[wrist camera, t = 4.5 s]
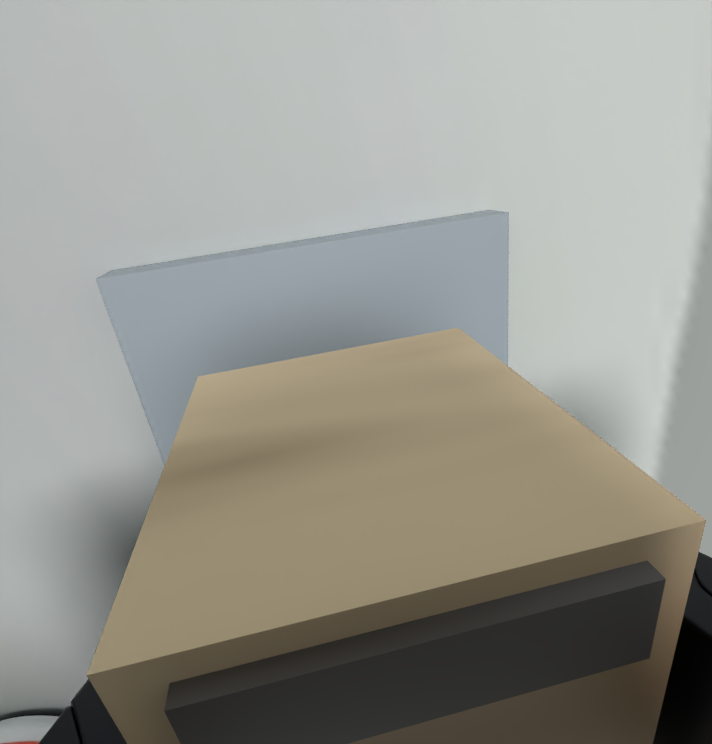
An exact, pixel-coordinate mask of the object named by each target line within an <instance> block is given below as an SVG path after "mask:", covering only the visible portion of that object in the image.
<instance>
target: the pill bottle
mask: <svg viewBox="0 0 712 744" xmlns="http://www.w3.org/2000/svg"><path fill="white" fill-rule="evenodd" d="M58 717H59V716H44V715H38V716H22V717H15V718H10V719H5V720H2V721H0V744H38V743H39V742H40V740H41V739H42V738H43V737H44V735H45V734H46V733H47V732H48V730H49V729H50V728H51V726H52V725H53V724H54V723H55V721H56V720H57V719H58Z"/></svg>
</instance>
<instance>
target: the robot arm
mask: <svg viewBox="0 0 712 744" xmlns="http://www.w3.org/2000/svg"><path fill="white" fill-rule="evenodd" d="M71 706H72V707H71ZM71 706H68V707H66V708H65V710H64V711H63V712H62V714H61V715H60V716H59V717H58V719H57V720H56V721H55V723H54V724H53V725H52V726H51V728H50V729H49V730H48V732H47V733H46V734H45V735H44V737H43V738H42V739H41V740H40V742H39V743H38V744H127V743H126V741H125V739H124V737H123V736H122V734H121V732H120V731H119V729H118V727H117V726H116V724H115V722H114V721H113V719H112V717H111V716H110V714H109V712H108V711H107V709H106V707H105V705H104V704H103V702H102V700H101V699H100V697H99V695H98V694H97V692H96V690H95V689H94V687H93V685H92V684H91V682H90V680H89V679H88V680H87V681H86V683H85V684H84V685H83V687H82V688H81V689H80V691H79V692H78V693H77V694H76V696H75V697H74V698H73V700H72V701H71ZM653 744H712V558H711V557H709V556H707V555H705V554H702V553H700V552H698V557H697V561H696V565H695V569H694V573H693V577H692V582H691V586H690V590H689V594H688V598H687V603H686V607H685V611H684V615H683V619H682V624H681V628H680V632H679V636H678V640H677V644H676V649H675V653H674V657H673V661H672V665H671V670H670V674H669V678H668V682H667V686H666V690H665V695H664V699H663V703H662V707H661V711H660V716H659V720H658V724H657V728H656V732H655V737H654V741H653Z"/></svg>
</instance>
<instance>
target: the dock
mask: <svg viewBox="0 0 712 744" xmlns="http://www.w3.org/2000/svg"><path fill="white" fill-rule="evenodd" d="M508 234H509V212H501V211H493V210H487V211H481V212H474V213H468V214H462V215H456V216H449V217H443V218H437V219H431V220H424V221H418V222H412V223H406V224H399V225H393V226H387V227H381V228H375V229H368V230H362V231H356V232H350V233H343V234H337V235H331V236H325V237H318V238H312V239H306V240H300V241H293V242H287V243H281V244H275V245H268V246H262V247H256V248H250V249H243V250H237V251H231V252H225V253H219V254H212V255H206V256H200V257H194V258H187V259H181V260H175V261H169V262H162V263H156V264H150V265H144V266H137V267H131V268H125V269H119V270H112V271H110V272H108V273H106V274H104V275H102V276H101V277H99V278H97V279H96V282H97V284H98V287H99V290H100V293H101V295H102V298H103V301H104V303H105V306H106V309H107V311H108V314H109V317H110V319H111V322H112V325H113V328H114V330H115V333H116V336H117V338H118V341H119V344H120V346H121V349H122V352H123V355H124V357H125V360H126V363H127V365H128V368H129V371H130V373H131V376H132V379H133V381H134V384H135V387H136V390H137V392H138V395H139V398H140V400H141V403H142V406H143V408H144V411H145V414H146V417H147V419H148V422H149V425H150V427H151V430H152V433H153V435H154V438H155V441H156V443H157V446H158V449H159V452H160V454H161V457H162V460H163V462H164V465H165V464H166V461H167V458H168V456H169V453H170V450H171V448H172V445H173V442H174V440H175V437H176V434H177V431H178V429H179V426H180V423H181V421H182V418H183V415H184V413H185V410H186V407H187V405H188V402H189V399H190V397H191V394H192V391H193V389H194V386H195V383H196V381H197V378H198V376H204V375H209V374H214V373H220V372H225V371H230V370H236V369H241V368H246V367H251V366H257V365H262V364H267V363H273V362H278V361H283V360H289V359H294V358H299V357H305V356H310V355H315V354H321V353H326V352H331V351H337V350H342V349H347V348H352V347H358V346H363V345H368V344H374V343H379V342H384V341H390V340H395V339H400V338H406V337H411V336H416V335H422V334H427V333H432V332H438V331H443V330H448V329H454V328H459V329H461V330H462V331H463V332H465V333H466V334H467V335H468V336H470V337H471V338H472V339H474V340H475V341H476V342H477V343H479V344H480V345H481V346H483V347H484V348H485V349H486V350H488V351H489V352H490V353H492V354H493V355H494V356H495V357H497V358H498V359H499V360H501V361H502V362H503V363H504V364H506V365H507V366H508Z"/></svg>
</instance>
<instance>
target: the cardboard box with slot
mask: <svg viewBox="0 0 712 744" xmlns="http://www.w3.org/2000/svg"><path fill="white" fill-rule="evenodd" d="M705 523H706V520H705V519H704V518H703V517H701V516H700V515H699V514H697V513H696V512H695V511H694V510H692V509H691V508H690V507H688V506H687V505H686V504H685V503H683V502H682V501H681V500H680V499H678V498H677V497H676V496H674V495H673V494H672V493H671V492H669V491H668V490H667V489H665V488H664V487H663V486H662V485H660V484H659V483H658V482H656V481H655V480H654V479H653V478H651V477H650V476H649V475H647V474H646V473H645V472H644V471H642V470H641V469H640V468H638V467H637V466H636V465H635V464H633V463H632V462H631V461H629V460H628V459H627V458H626V457H624V456H623V455H622V454H620V453H619V452H618V451H616V450H615V449H614V448H613V447H611V446H610V445H609V444H607V443H606V442H605V441H604V440H602V439H601V438H600V437H598V436H597V435H596V434H595V433H593V432H592V431H591V430H589V429H588V428H587V427H586V426H584V425H583V424H582V423H580V422H579V421H578V420H577V419H575V418H574V417H573V416H571V415H570V414H569V413H568V412H566V411H565V410H564V409H562V408H561V407H560V406H559V405H557V404H556V403H555V402H553V401H552V400H551V399H550V398H548V397H547V396H546V395H544V394H543V393H542V392H541V391H539V390H538V389H537V388H535V387H534V386H533V385H532V384H530V383H529V382H528V381H526V380H525V379H524V378H523V377H521V376H520V375H519V374H517V373H516V372H515V371H513V370H512V369H511V368H510V367H508V366H507V365H506V364H504V363H503V362H502V361H501V360H499V359H498V358H497V357H495V356H494V355H493V354H492V353H490V352H489V351H488V350H486V349H485V348H484V347H483V346H481V345H480V344H479V343H477V342H476V341H475V340H474V339H472V338H471V337H470V336H468V335H467V334H466V333H465V332H463V331H462V330H461V329H459V328H454V329H448V330H443V331H438V332H432V333H427V334H422V335H416V336H411V337H406V338H400V339H395V340H390V341H384V342H379V343H374V344H368V345H363V346H358V347H352V348H347V349H342V350H337V351H331V352H326V353H321V354H315V355H310V356H305V357H299V358H294V359H289V360H283V361H278V362H273V363H267V364H262V365H257V366H251V367H246V368H241V369H236V370H230V371H225V372H220V373H214V374H209V375H204V376H198V378H197V381H196V383H195V386H194V389H193V391H192V394H191V397H190V399H189V402H188V405H187V407H186V410H185V413H184V415H183V418H182V421H181V423H180V426H179V429H178V431H177V434H176V437H175V440H174V442H173V445H172V448H171V450H170V453H169V456H168V458H167V461H166V464H165V466H164V469H163V472H162V474H161V477H160V480H159V482H158V485H157V488H156V490H155V493H154V496H153V499H152V501H151V504H150V507H149V509H148V512H147V515H146V517H145V520H144V523H143V525H142V528H141V531H140V533H139V536H138V539H137V541H136V544H135V547H134V550H133V552H132V555H131V558H130V560H129V563H128V566H127V568H126V571H125V574H124V576H123V579H122V582H121V584H120V587H119V590H118V592H117V595H116V598H115V600H114V603H113V606H112V609H111V611H110V614H109V617H108V619H107V622H106V625H105V627H104V630H103V633H102V635H101V638H100V641H99V643H98V646H97V649H96V651H95V654H94V657H93V660H92V662H91V665H90V668H89V670H88V673H87V677H88V679H89V680H90V682H91V684H92V685H93V687H94V689H95V690H96V692H97V694H98V695H99V697H100V699H101V700H102V702H103V704H104V705H105V707H106V709H107V711H108V712H109V714H110V716H111V717H112V719H113V721H114V722H115V724H116V726H117V727H118V729H119V731H120V732H121V734H122V736H123V737H124V739H125V741H126V743H127V744H653V741H654V737H655V732H656V728H657V724H658V720H659V716H660V711H661V707H662V703H663V699H664V695H665V690H666V686H667V682H668V678H669V674H670V670H671V665H672V661H673V657H674V653H675V649H676V644H677V640H678V636H679V632H680V628H681V624H682V619H683V615H684V611H685V607H686V603H687V598H688V594H689V590H690V586H691V582H692V577H693V573H694V569H695V565H696V561H697V557H698V552H699V548H700V544H701V540H702V536H703V531H704V527H705Z"/></svg>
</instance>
